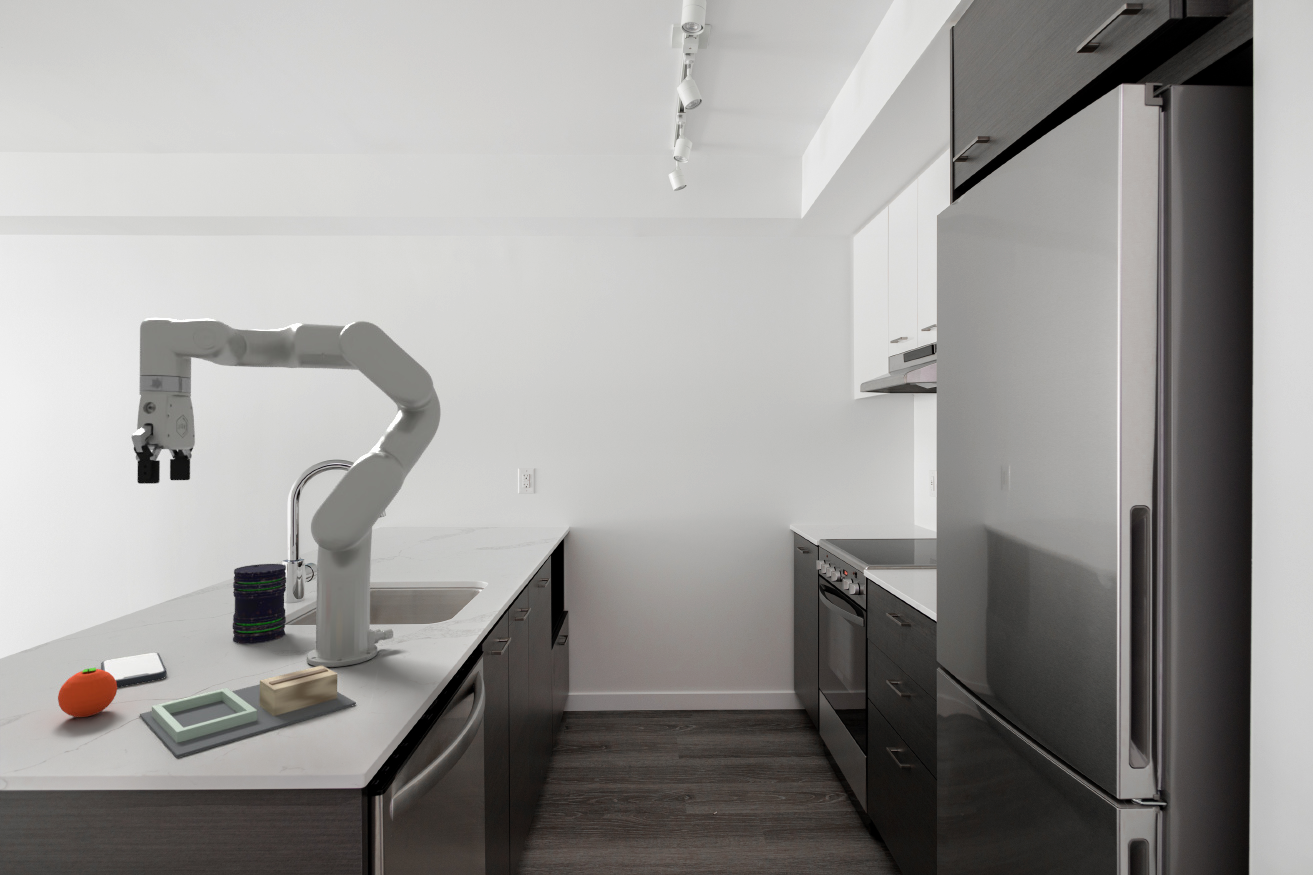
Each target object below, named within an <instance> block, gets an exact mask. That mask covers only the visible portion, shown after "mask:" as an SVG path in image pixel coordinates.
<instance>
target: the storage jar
mask: <svg viewBox="0 0 1313 875" xmlns="http://www.w3.org/2000/svg"><path fill="white" fill-rule="evenodd" d="M286 570H287V566H286V564H282V563H262V564H261V563H260V564H259V563H258V564H251V565H244V566H240V567H236V568H234V569H233V574H234V576H233V585H232V586H233V591H232V593H233V597H234V614H233V618H232V630H233V631H232V634H233V637H232V642H233V643H235V644H237V645H238V644H240V645H255V644H262V643H268V642H272V641H276V640H279V639H281V638H283V637H284V636H286V632H285V628H286V623H287V620H286V619H287V617H286V608H285V593H286V589H287V586H286V584H287V577H286V576H287V572H286Z"/></svg>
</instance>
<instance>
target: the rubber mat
mask: <svg viewBox="0 0 1313 875" xmlns="http://www.w3.org/2000/svg"><path fill="white" fill-rule="evenodd" d="M231 691H232V692H233V693H235V694H236V695H237V696H239V697H240V698H241V699H243V700H244V701H245V702H247V703H248V704H249V705H251V706H252V707H253V708H255V709H256V710H257V720H256V721H253V722H249V723H245V724H242V725H238V726H235V727H231V728H228V729H224V730H221V731H217V732H214V733H210V734H207V735H203V736H200V737H196V738H193V739H189V740H185V741H182V742H178V743H176V741H175V740H174V739H173V738H172V737H171V736H170V735H169V734H168V733H167V732H166V731H165V730H164V729H163V728H162V726H161V725H160V724H159V723H158V722H157V721H156V720H155V719H154V718H153V717H152V710H150V711H146V712H141V713H139V717H140V719H141V720H143V722H144V723H145V725H147V726H148V727H149V729H150V730H151V731H152V732H153V734H155V735H156V736H157V738H158V739H159V740H160V741H161V742H162V743H163V744H164V746H165V747H166V748H167V749H168V750H169V751H170V752H171V753H172V754H173V756H174V757H175V758H177V759H178V758H182V757H185V756H189V755H192V754H195V753H198V752H203V751H206V750H210V749H212V748H215V747H219V746H222V745H226V744H229V743H232V742H236V741H239V740H243V739H245V738H249V737H253V736H256V735H259V734H262V733H266V732H269V731H273V730H276V729H279V728H282V727H286V726H288V725H293V724H296V723H299V722H303V721H307V720H309V719H313V718H316V717H320V716H323V715H326V714H330V713H334V712H336V710H337V711H339V710H344V709H347V708H350V707H353V706H352V705H354V706H356V705H357V702H356V701H355V700H353V699H351V698H350V697H347V696H346V695H344V694H342V693H341V692H339V691H337V698H336V699H332V700H329V701H325V702H322V703H318V704H315V705H311V706H308V707H304V708H301V709H297V710H294V711H290V712H286V713H283V714H279V715H276V716H273V715H272V714H270V713H269V712H268V711H266V710H265V709H263V708H262V707H261V706H259V702H260V683H259V684H255V685H251V686H248V687H244V688H239V689H235V690H231ZM355 704H356V705H355ZM349 706H350V707H349ZM346 707H347V708H346ZM333 711H334V712H333ZM236 713H237V712H236V711H235V710H233V709H232V708H231V707H229V706H228V705H227V704H226V703H224V702H223V701H218V702H214V703H210V704H206V705H202V706H198V707H194V708H190V709H186V710H182V711H178V712H174V713H170V715H171V716H172V717H173V718H174V719H175V720H176V721H177V722H178V723H179V724H180V725H181V726H182V727H183V728H184V727H188V726H192V725H195V724H199V723H203V722H207V721H210V720H214V719H218V718H221V717H225V716H229V715H232V714H236ZM319 715H320V716H319Z"/></svg>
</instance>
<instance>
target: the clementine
mask: <svg viewBox="0 0 1313 875" xmlns="http://www.w3.org/2000/svg"><path fill="white" fill-rule="evenodd" d="M117 692H118V687H117V683H116V680H115V679H114V677H113V676H112V675H111V674H110V673H108V672H106V671H104V670H101V669H99V668H96V667H90V668H84V669H83V670H81V671H78V672H76V673H75V674H73V675H72V676H70V677H69V678H67V679H66V681H65V682H64V683H63V684H62V685H61V687H60V689H59V691H58V696H57V701H58V706H59V707H60V709H61V711H62V712H64V713H65V714H66V715H68V716H70V717H73V718H74V717H75V718H87V717H91V716H94V715H97V714H99V713H101V712H103V710H105V709H107V708H108V707H109V706H110V705H111V703H112V702H113V701H114V699H115V697H116V695H117Z"/></svg>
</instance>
